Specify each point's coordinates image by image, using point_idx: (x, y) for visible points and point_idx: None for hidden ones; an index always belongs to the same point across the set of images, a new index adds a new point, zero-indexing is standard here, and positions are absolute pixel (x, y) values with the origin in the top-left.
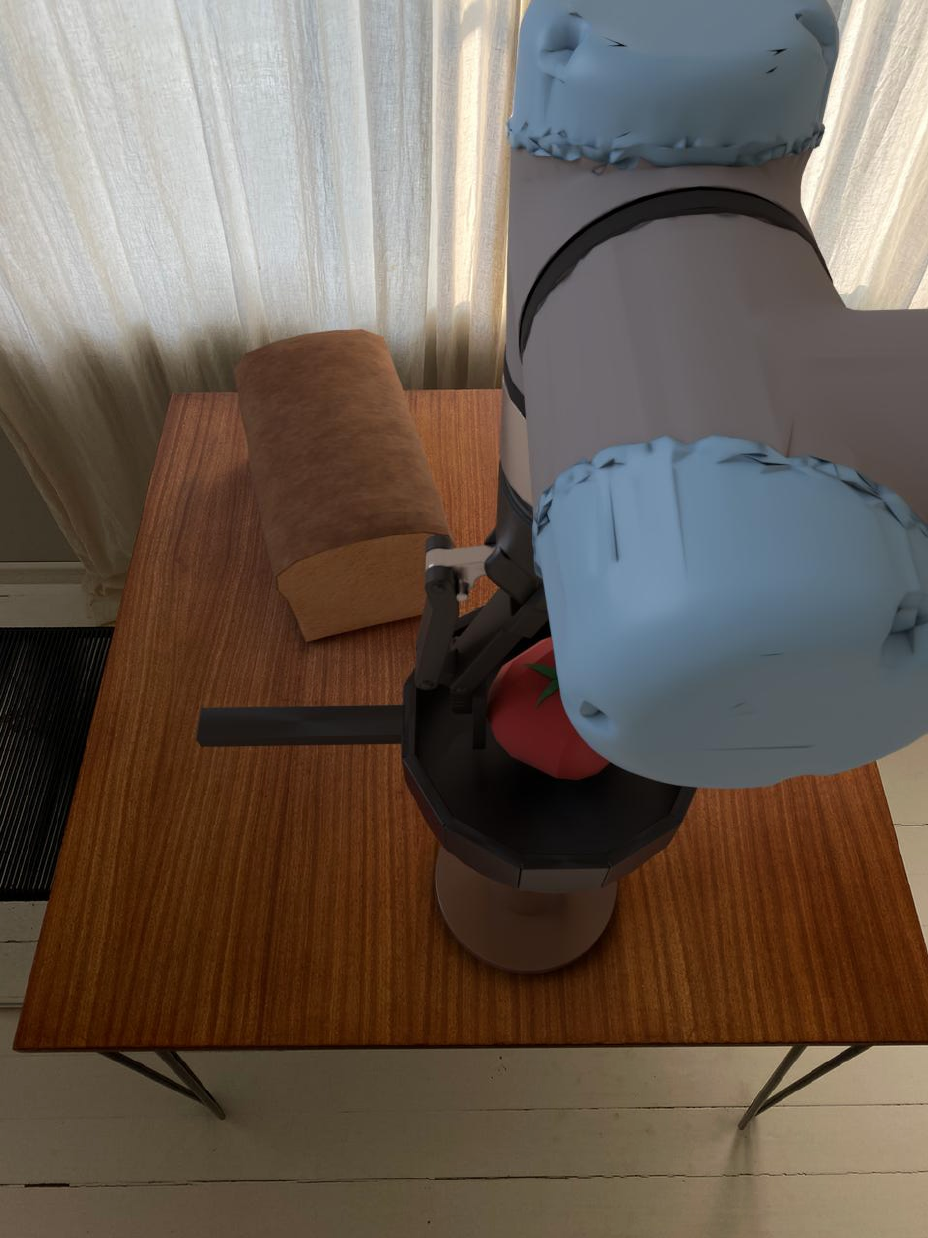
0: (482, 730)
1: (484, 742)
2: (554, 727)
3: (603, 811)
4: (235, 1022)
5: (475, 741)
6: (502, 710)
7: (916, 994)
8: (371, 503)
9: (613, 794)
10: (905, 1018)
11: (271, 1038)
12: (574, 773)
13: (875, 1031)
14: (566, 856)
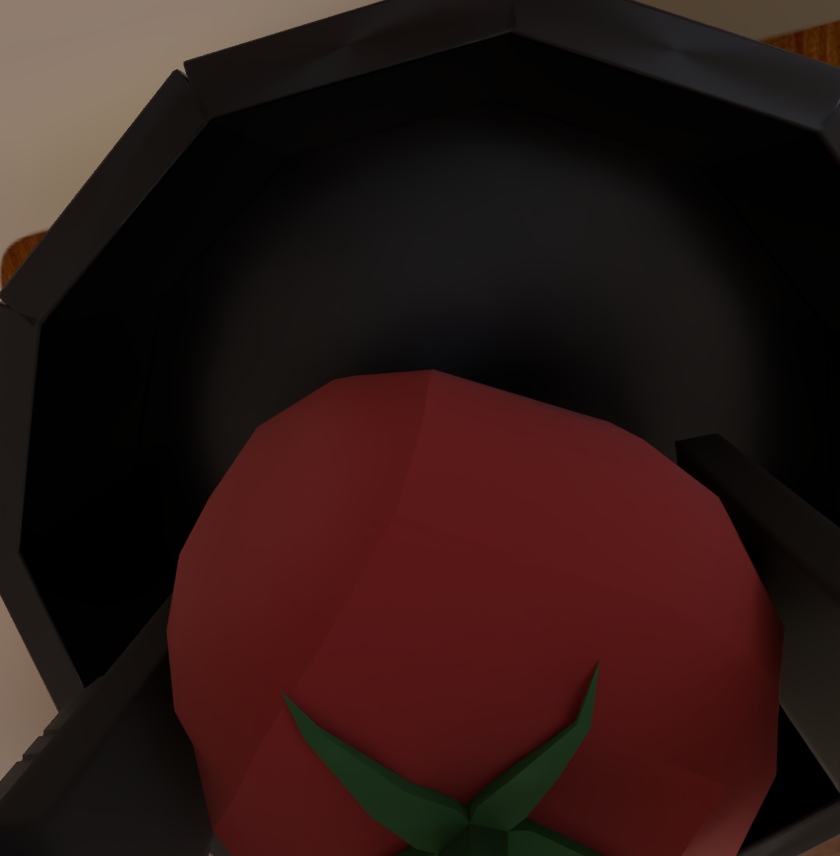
0: (750, 498)
1: (699, 459)
2: (474, 577)
3: (304, 343)
4: (837, 42)
5: (735, 456)
6: (748, 613)
7: (2, 286)
8: (820, 849)
9: (287, 393)
10: (9, 256)
11: (780, 34)
12: (357, 382)
13: (38, 233)
14: (345, 68)
